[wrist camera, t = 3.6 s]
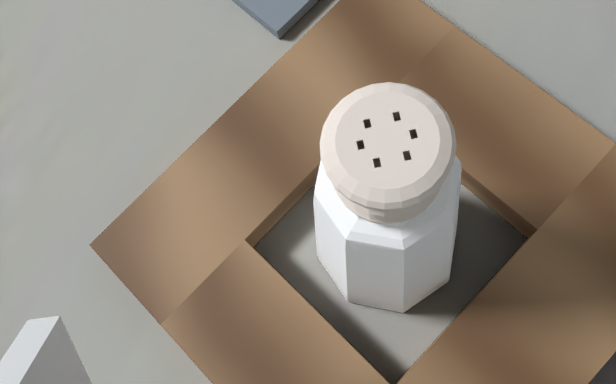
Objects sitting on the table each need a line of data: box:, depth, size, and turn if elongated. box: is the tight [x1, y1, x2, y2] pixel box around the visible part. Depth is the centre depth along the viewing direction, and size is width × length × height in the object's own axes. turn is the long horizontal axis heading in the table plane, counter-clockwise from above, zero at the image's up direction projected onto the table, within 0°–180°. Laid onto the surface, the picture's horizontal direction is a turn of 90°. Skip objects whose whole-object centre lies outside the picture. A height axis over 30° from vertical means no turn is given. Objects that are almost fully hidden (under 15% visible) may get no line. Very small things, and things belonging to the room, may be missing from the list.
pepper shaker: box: [313, 82, 462, 313], centre depth 17 cm, size 5×5×11 cm
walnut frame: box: [90, 0, 616, 384], centre depth 21 cm, size 16×16×2 cm
